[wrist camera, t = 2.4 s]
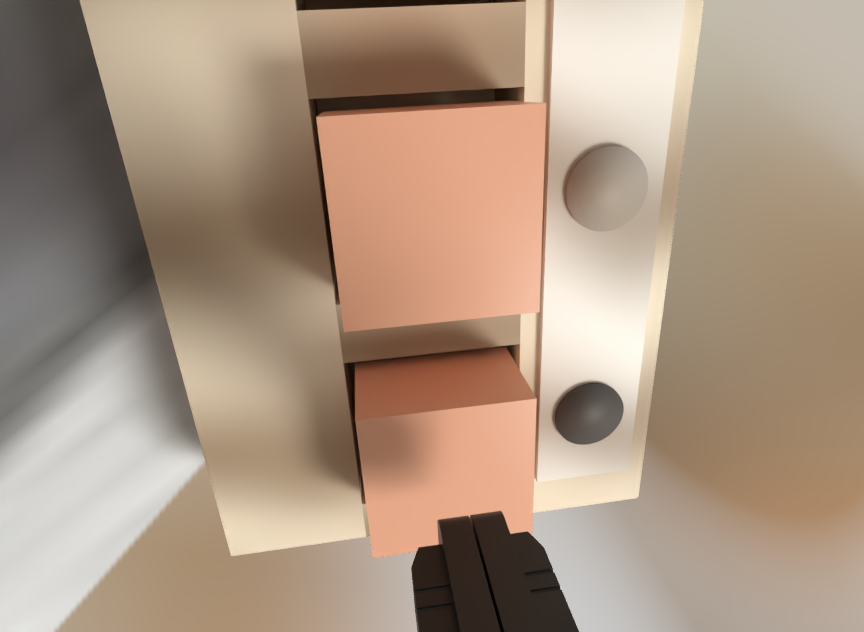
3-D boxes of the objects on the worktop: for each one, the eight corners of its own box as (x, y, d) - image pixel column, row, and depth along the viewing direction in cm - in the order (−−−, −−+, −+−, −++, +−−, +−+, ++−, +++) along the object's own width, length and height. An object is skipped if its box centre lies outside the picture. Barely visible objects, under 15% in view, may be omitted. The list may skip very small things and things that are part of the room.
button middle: (323, 111, 13) (316, 116, 10) (507, 100, 13) (546, 103, 11) (345, 287, 15) (343, 332, 12) (506, 272, 15) (539, 312, 13)
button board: (75, -286, 12) (-58, -467, 8) (650, -276, 14) (771, -425, 10) (252, 475, 21) (228, 565, 17) (591, 431, 22) (643, 504, 18)
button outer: (354, 363, 16) (355, 420, 13) (505, 346, 16) (536, 398, 14) (369, 485, 18) (373, 557, 15) (505, 467, 18) (532, 534, 15)
